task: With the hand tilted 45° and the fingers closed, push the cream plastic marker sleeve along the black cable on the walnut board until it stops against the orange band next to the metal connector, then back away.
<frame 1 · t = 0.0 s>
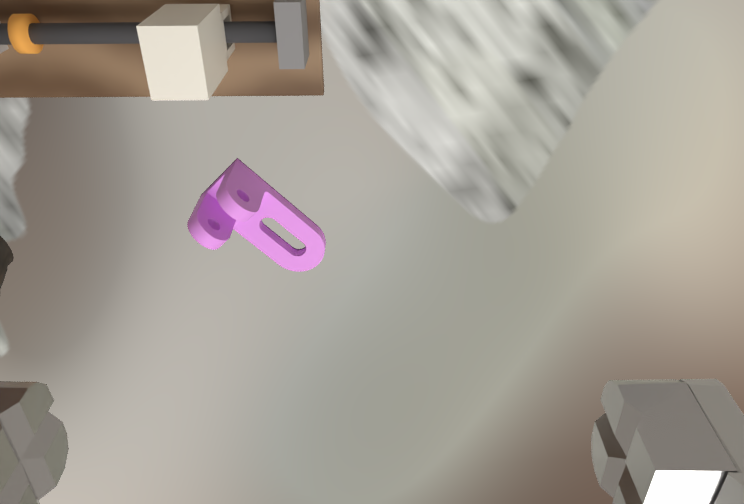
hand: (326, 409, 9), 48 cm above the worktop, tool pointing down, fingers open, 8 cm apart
cable board: (141, 22, 53), on the worktop
fibre cable: (123, 32, 50), on the cable board, point 3 cm above the worktop
bracket: (270, 217, 63), on the worktop
sleeve: (192, 43, 47), point 7 cm above the worktop, slide at 0.0 cm
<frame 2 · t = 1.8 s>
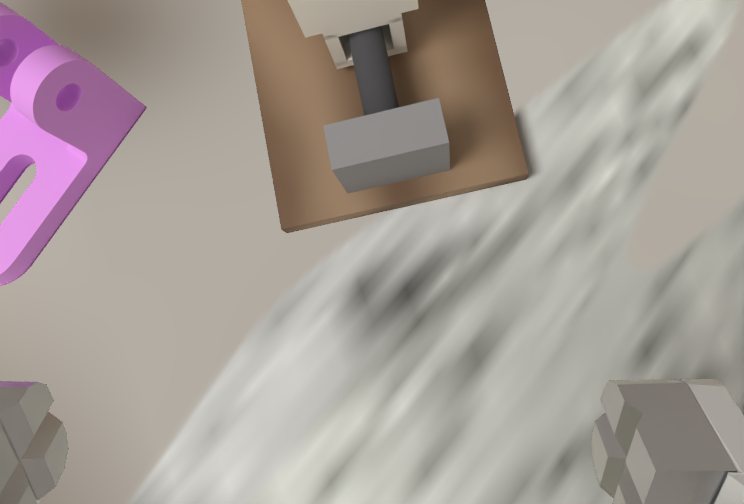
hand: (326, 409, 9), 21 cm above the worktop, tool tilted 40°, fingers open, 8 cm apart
bracket: (40, 179, 34), on the worktop
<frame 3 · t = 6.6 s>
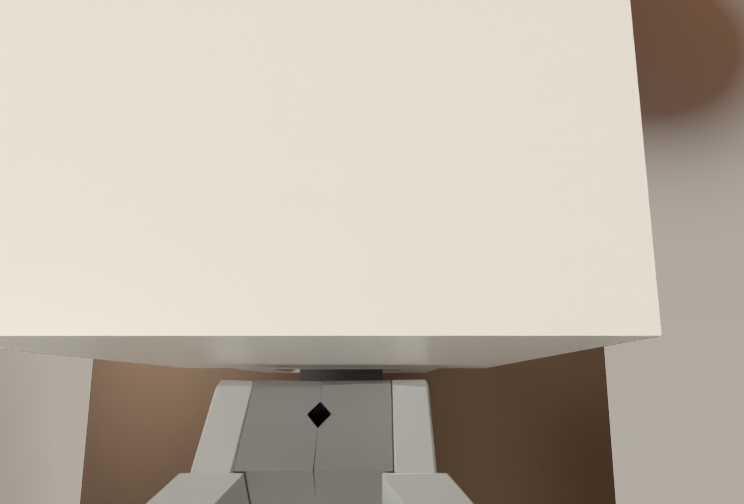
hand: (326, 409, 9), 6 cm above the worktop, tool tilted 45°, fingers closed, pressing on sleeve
cable board: (351, 120, 17), on the worktop
fibre cable: (345, 44, 14), on the cable board, point 3 cm above the worktop
sleeve: (329, 228, 9), point 7 cm above the worktop, slide at 1.2 cm, touching gripper
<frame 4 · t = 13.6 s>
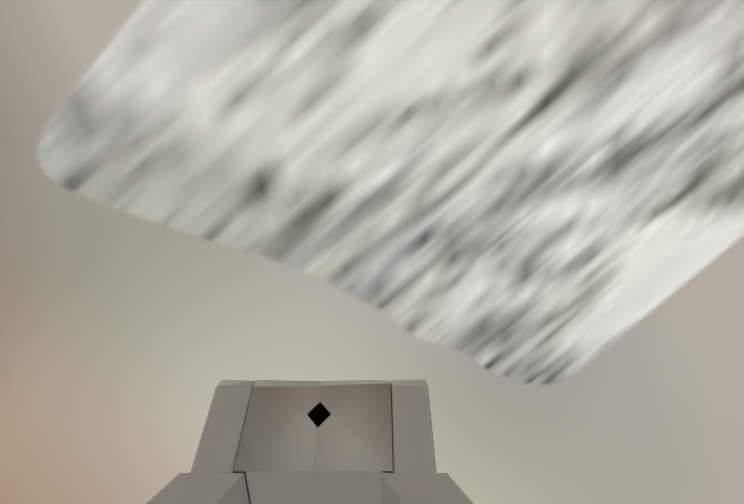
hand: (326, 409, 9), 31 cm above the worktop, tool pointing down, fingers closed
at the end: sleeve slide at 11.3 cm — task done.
